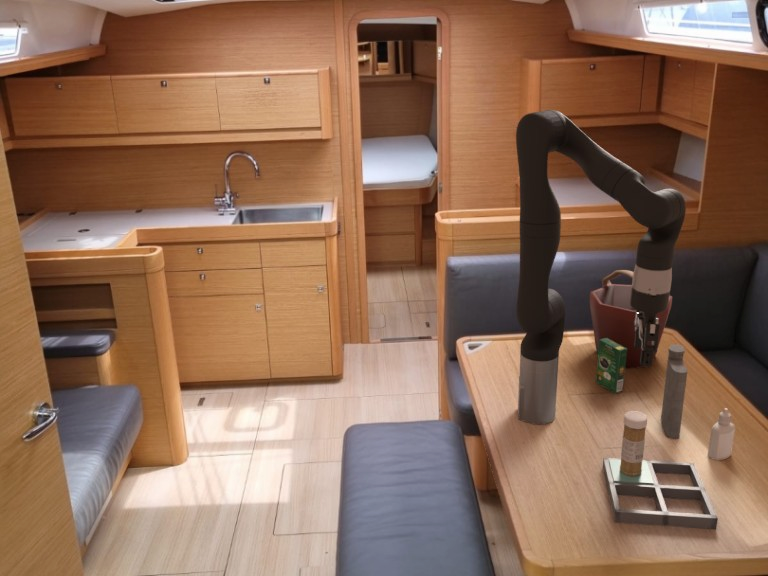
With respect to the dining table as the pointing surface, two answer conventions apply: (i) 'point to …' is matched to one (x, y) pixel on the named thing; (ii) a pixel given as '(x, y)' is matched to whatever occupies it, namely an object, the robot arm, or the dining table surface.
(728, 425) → the eye dropper bottle
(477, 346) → the dining table surface
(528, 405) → the robot arm
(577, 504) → the dining table surface
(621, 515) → the organizer
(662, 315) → the bucket
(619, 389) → the coffee box
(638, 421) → the sprinkles bottle
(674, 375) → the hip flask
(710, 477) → the dining table surface
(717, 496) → the dining table surface
